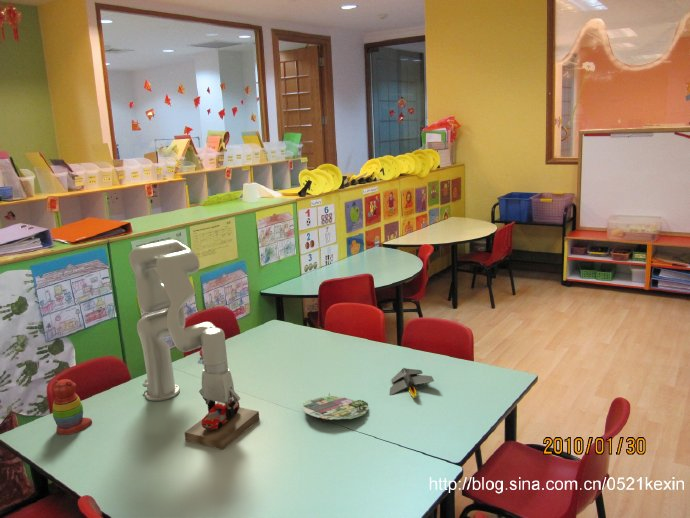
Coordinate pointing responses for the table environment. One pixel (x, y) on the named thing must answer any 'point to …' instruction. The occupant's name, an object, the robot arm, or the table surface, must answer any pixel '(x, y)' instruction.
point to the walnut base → (223, 430)
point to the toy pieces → (201, 356)
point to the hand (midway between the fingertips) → (221, 415)
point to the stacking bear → (68, 408)
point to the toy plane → (409, 381)
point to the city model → (334, 408)
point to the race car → (217, 416)
